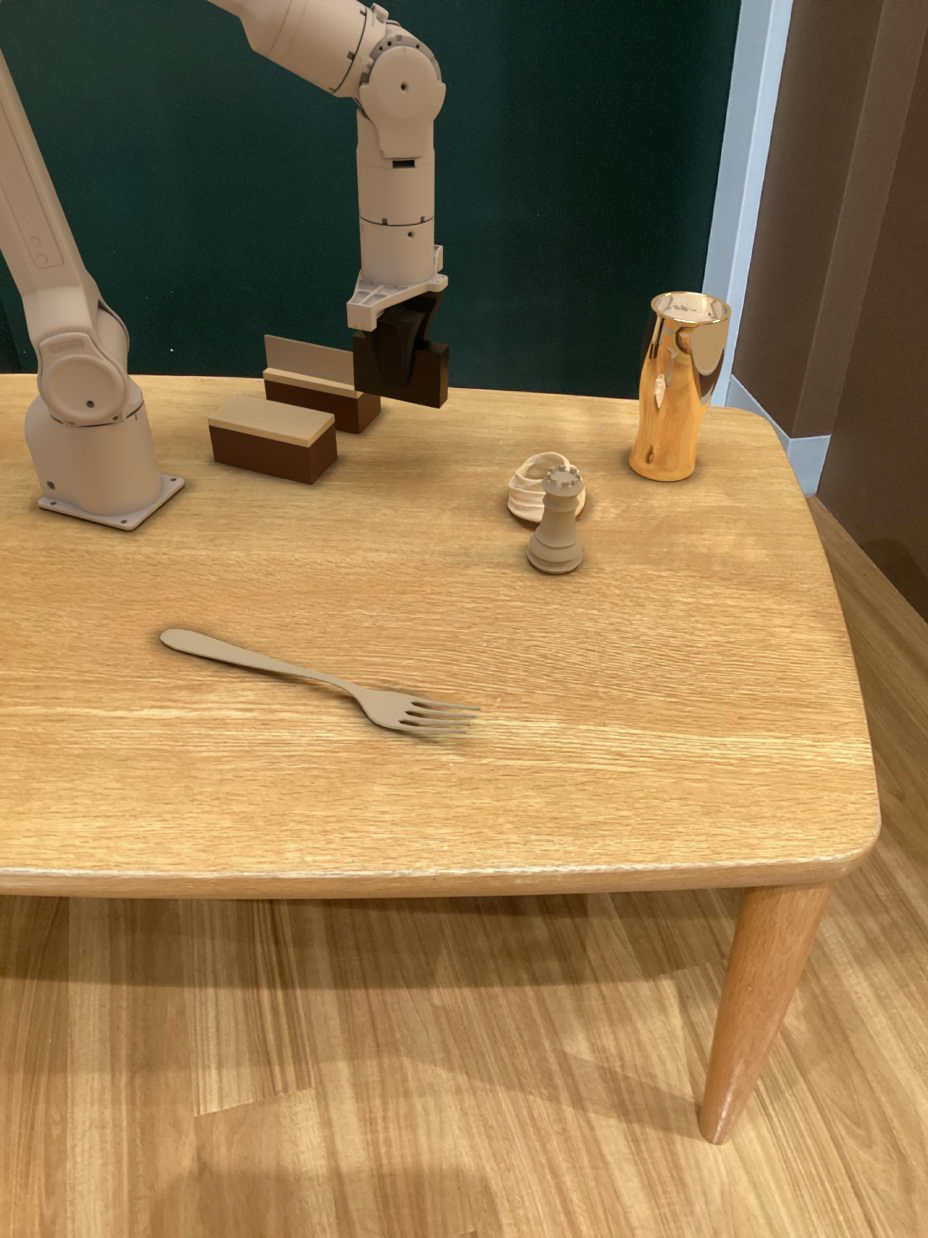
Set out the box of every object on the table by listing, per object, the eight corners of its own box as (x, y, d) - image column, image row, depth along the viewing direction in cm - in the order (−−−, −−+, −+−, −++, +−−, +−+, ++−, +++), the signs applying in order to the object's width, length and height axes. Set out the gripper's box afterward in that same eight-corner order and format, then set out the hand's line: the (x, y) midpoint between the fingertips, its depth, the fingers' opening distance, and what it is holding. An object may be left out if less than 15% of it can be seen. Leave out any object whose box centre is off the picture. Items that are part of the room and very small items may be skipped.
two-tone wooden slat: (447, 399, 80) (449, 344, 76) (439, 409, 78) (440, 353, 75) (273, 362, 84) (268, 308, 81) (262, 371, 82) (256, 316, 79)
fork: (175, 621, 67) (171, 602, 66) (484, 722, 60) (485, 703, 59) (147, 648, 65) (142, 629, 64) (464, 756, 58) (465, 737, 57)
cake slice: (267, 414, 91) (262, 371, 88) (292, 392, 95) (288, 351, 92) (359, 434, 88) (357, 390, 86) (381, 411, 92) (379, 369, 89)
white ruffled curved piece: (569, 547, 77) (580, 501, 73) (492, 525, 78) (499, 479, 74) (589, 492, 82) (600, 447, 79) (517, 472, 83) (525, 427, 80)
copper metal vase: (710, 459, 86) (746, 302, 77) (682, 492, 82) (716, 330, 72) (642, 438, 89) (668, 283, 79) (611, 469, 85) (634, 309, 75)
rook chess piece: (579, 580, 72) (590, 493, 67) (522, 572, 73) (529, 485, 67) (584, 547, 75) (596, 462, 70) (530, 539, 76) (538, 454, 71)
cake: (214, 461, 84) (206, 417, 81) (243, 436, 88) (236, 392, 85) (312, 484, 81) (307, 439, 79) (337, 457, 85) (334, 413, 82)
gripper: (407, 251, 64) (410, 427, 73) (478, 195, 74) (473, 354, 83) (316, 237, 66) (329, 410, 75) (398, 183, 76) (401, 341, 85)
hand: (400, 380), depth 79 cm, fingers closed on two-tone wooden slat, 2 cm apart
